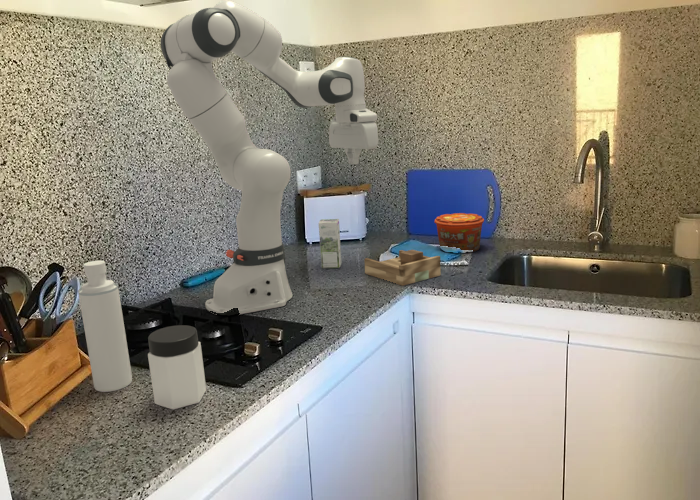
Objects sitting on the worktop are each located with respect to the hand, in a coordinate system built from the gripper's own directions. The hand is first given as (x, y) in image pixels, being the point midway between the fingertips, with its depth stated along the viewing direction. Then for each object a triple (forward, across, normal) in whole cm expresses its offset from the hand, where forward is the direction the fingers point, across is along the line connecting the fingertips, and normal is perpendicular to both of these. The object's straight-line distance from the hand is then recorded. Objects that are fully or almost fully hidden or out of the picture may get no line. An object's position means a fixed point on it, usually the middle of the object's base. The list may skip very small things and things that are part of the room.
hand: (353, 164), depth 176 cm
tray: (+31, +16, +3) cm, 35 cm away
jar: (+31, +48, -73) cm, 93 cm away
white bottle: (+31, +34, -81) cm, 93 cm away
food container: (+31, +7, +36) cm, 48 cm away
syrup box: (+31, -6, -6) cm, 32 cm away
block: (+29, +20, +4) cm, 35 cm away
